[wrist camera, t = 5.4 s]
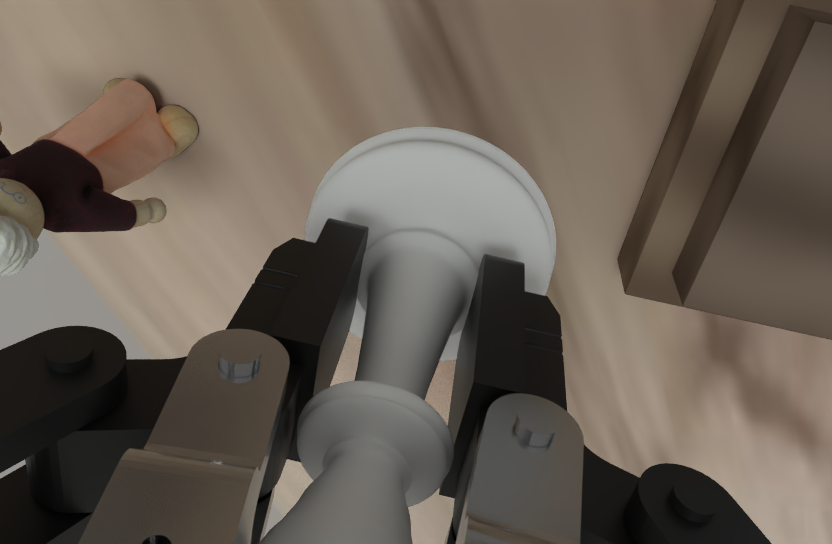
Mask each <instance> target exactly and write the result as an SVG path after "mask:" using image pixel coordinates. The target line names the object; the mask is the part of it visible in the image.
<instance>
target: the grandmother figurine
mask: <svg viewBox="0 0 832 544" xmlns="http://www.w3.org/2000/svg"><path fill="white" fill-rule="evenodd" d="M1 132H2V126H1V123H0V134H1ZM197 135H198V125H197V123H196V121H195V119H194V117H193V116H192V115H191V114H189V113H188V112H187V111H186V110H184V109H183V108H181V107H179V106H176V105H167V106H164V107H163V108H161V109H160V110H159V112H158V113H156V106H155V102H154V98H153V97H152V95H151V93H150V92H149V91H148V90H147V89H146V88H145V87H144V86H143V85H141V84H140V83H138V82H136V81H133V80H129V79H125V80H124V79H113V80H111V81H109V82H108V83H107V84H106V86H105V88H104V90H103V96H101V97H100V98H99V99H98V100H97V101H95V102H94V103H93V104H92V105H90V106H89V107H88V108H87V109H86V110H84V111H83V112H82V113H80V114H79V115H77V116H76V117H75V118H73V119H72V120H70V121H68V122H67V123H65V124H64V125H62V126H61V127H59V128H58V129H56V130H54V131H53V132H51V133H48V134H46V135H44V136H42V137H40V138H39V139H37V140H36V141H35V142H34V143H33V144H32V145H31V146H29V147H26V148H25V149H22V150H21V151H19V152H17V153H15V154H12V155H11V153H10V152H9V150H8V149H7V148H6V147H5V145H4V144H3V143H2V142H1V141H0V276H2V275H12V274H16V273H17V272H19V271H20V270H21V269H22V268H24V266H25V265H26V264H27V262H28V261H29V259H31V258H32V257H33V256H34V255H35V253H36V252H37V250H38V246H39V244H38V241H37V238H38V237H39V235H40V233H41V231H42V229H43V228H44V229H47V230H50V231H52V232H104V231H126V230H130V229H131V228H133V227H138V226H142V225H145V224H147V223H148V222H149V223H157V222H160V221H161V220H163V219H164V217H165V216H166V212H167V211H166V206H165V204H164V203H163V201H161V200H160V199H158V198H148V199H145V200H144V201H142V200H132V201H127V200H123V199H120V198H118V197H116V196H114V195H112V194H111V193H112V192H114V191H115V190H117V189H119V188H121V187H124V186H126V185H128V184H130V183H132V182H133V181H135V180H137V179H140V178H142V177H143V176H145V175H147V174H148V173H150V172H151V171H152V170H154V169H155V168H156V167H157V166H158V165H160V164H161V163H162V162H163V161H165V160H166V159H168V158H173V157H176V156H177V155H179V154H180V153H181V152H182V151H183V150H185V149H186V148H187V147H188V146H189V145H190V144H192V143H193V142H194V140H195V139H196V138H197Z"/></svg>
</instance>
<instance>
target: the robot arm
mask: <svg viewBox="0 0 832 544" xmlns="http://www.w3.org/2000/svg"><path fill="white" fill-rule="evenodd" d="M368 230H369V228H368V227H366V226H362V225H358V224H353V223H349V222H345V221H340V220H336V219H332V218H328V219H327V221H326V223H325V225H324V227H323V229H322V231H321V233H320V235H319V237H318V239H317V241H316V243H314V242H309V241H305V240H300V239H296V238H292V239H291V240H289V241H287V242H286V243H284V244H282V245H280V246H279V247H277V248H275V249H274V250H273V251H272V253H271V254H270V256H269V258H268V259H267V261H266V263H265V264H264V266H263V270H261V271H260V273H259V274H258V276H257V278H256V279H255V283H254V284H252V286H251V288H250V289H249V291H248V293H247V294H246V296H245V298H244V300H243V301H242V303H241V305H240V306H239V308H238V310H237V311H236V313H235V315H234V316H233V318H232V320H231V321H230V323H229V325H228V326H227V328H226V330H222V331H217V332H214V333H211V334H209V335H207V336H205V337H203V338H202V339H200V340H199V341H198V342H197V343H196V344H195V345H194V346H193V347H192V349H191V350H190V352H189V354H188V356H186V357H182V358H175V359H147V360H146V359H144V360H142V359H140V360H139V359H135V360H126V350H125V347H124V345H123V344H122V342H121V341H120V340H119V339H118V338H117V337H116V336H114V335H113V334H111V333H109V332H107V331H104V330H101V329H98V328H94V327H87V326H66V327H60V328H54V329H51V330H47V331H44V332H42V333H39V334H36V335H34V336H32V337H30V338H27V339H25V340H23V341H20V342H18V343H16V344H13V345H11V346H9V347H7V348H4V349H2V350H0V473H1V472H3V471H5V470H6V469H8V468H10V467H12V466H13V465H15V464H17V463H19V462H21V461H23V460H24V459H25V461H26V465H24V466H22V467H20V468H19V469H17V470H15V471H13V472H12V473H10V474H8V475H6V476H5V477H3V478H1V479H0V544H259V542H260V541H261V540H262V539H263V538H264V534H265V530H266V526H267V522H268V518H269V513H270V509H271V506H272V502H273V497H274V489H275V485H276V484H277V482H278V480H279V478H280V476H281V473H282V470H283V468H284V465H285V462H286V460H287V459H290V460H294V461H298V462H301V461H300V458H299V455H298V450H297V424H298V419H299V416H300V414H301V412H302V410H303V408H304V407H305V405H306V404H307V403H308V402H309V400H310V399H311V398H313V397H314V396H315V395H316V394H318V393H319V392H321V391H322V390H324V389H326V388H328V387H330V384H331V381H332V378H333V375H334V373H335V370H336V367H337V364H338V361H339V358H340V355H341V352H342V350H343V347H344V344H345V341H346V338H347V335H348V332H349V329H350V326H351V322H352V319H353V315H354V310H355V306H356V301H357V291H358V285H359V279H360V273H361V268H362V262H363V257H364V252H365V250H366V244H367V238H368ZM478 272H479V274H478V278H477V282H476V286H475V289H474V293H473V297H472V300H471V304H470V308H469V311H468V315H467V318H466V321H465V325H464V328H463V329H462V333H461V337H460V342H459V347H458V352H457V359H456V366H455V374H454V382H453V390H452V397H451V405H450V413H449V421H448V428H449V430H450V433H451V435H452V439H453V443H454V458H453V463H452V466H451V468H450V471H449V472H448V474H447V476H446V477H445V478H444V481H443V482H442V484H441V486H440V490H439V495H443V496H447V497H452V498H455V502H454V511H453V518H452V521H451V524H450V527H449V530H448V533H447V536H446V539H445V543H444V544H771V542H770V541H769V540H768V539H767V538H766V537H765V535H764V534H763V533H762V532H761V531H760V529H759V528H758V527H757V526H756V525H755V524H754V522H753V521H752V520H751V519H750V518H749V517H748V515H747V514H746V513H745V512H744V511H743V509H742V508H741V507H740V506H739V505H738V504H737V502H736V501H735V500H734V499H733V498H732V497H731V495H730V494H729V493H728V492H727V491H726V490H725V489H724V488H723V487H722V486H720V485H719V484H718V483H717V482H715V481H714V480H713V479H711V478H710V477H708V476H706V475H705V474H703V473H701V472H699V471H697V470H694V469H692V468H689V467H686V466H683V465H678V464H668V463H665V464H658V465H654V466H652V467H650V468H648V469H647V470H646V471H645V472H644V473H643V474H642V475H641V477H640V478H639V477H637V476H635V475H633V474H631V473H629V472H627V471H625V470H622V469H620V468H618V467H616V466H614V465H612V464H610V463H609V462H607V461H605V460H603V459H601V458H600V457H598V456H597V455H596V454H594V453H593V452H592V451H590V450H589V449H588V448H587V447H586V446H585V445H584V439H583V434H582V431H581V429H580V427H579V425H578V423H577V422H576V421H575V419H574V418H573V417H572V416H571V415H570V414H569V413H568V412H567V403H566V389H565V375H564V362H563V355H562V352H563V348H562V339H561V336H562V334H561V320H560V315H559V313H558V312H557V310H556V309H555V307H554V306H553V304H552V303H551V301H550V300H549V298H548V297H547V296H543V295H539V294H535V293H530V292H526V291H525V264H524V263H523V262H518V261H514V260H510V259H505V258H501V257H496V256H492V255H488V254H484V255H483V258H482V261H481V264H480V267H479V271H478Z"/></svg>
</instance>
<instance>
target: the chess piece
mask: <svg viewBox="0 0 832 544" xmlns="http://www.w3.org/2000/svg"><path fill="white" fill-rule="evenodd" d="M328 218H332V219H336V220H340V221H345V222H349V223H353V224H358V225H362V226H366V227H368V228H369V230H368V238H367V244H366V250H365V252H364V257H363V262H362V268H361V273H360V279H359V285H358V291H357V301H356V306H355V310H354V315H353V319H352V322H351V326H350V329H349V330H350V331H351V332H352V333H353V334H355V335H356V336H358V337H359V338H361V339H362V343H361V349H360V355H359V362H358V368H357V372H356V377H355V381H350V382H344V383H340V384H336V385H333V386H331V387H328V388H326V389H324V390H322V391H321V392H319V393H318V394H316V395H315V396H314V397H313V398H311V399H310V400H309V402H308V403H307V404H306V405H305V407H304V408H303V410H302V412H301V414H300V416H299V419H298V424H297V450H298V455H299V458H300V461H301V463H302V465H303V467H304V468H305V470H306V472H307V473H308V474H309V476H310V477H311V478H312V479H313V480H314V481H313V482H312V483H311V484H310V485H309V486H308V488H307V489H306V490H305V491H304V493H303V494H302V496H301V497H300V499H299V500H298V502H297V503H296V504H295V506H294V507H293V508H292V509H291V510H290V511H289V512H288V513H287V515H286V516H285V517H284V518H283V519H282V520H281V521H280V522H278V523H277V524H276V525H275V526H274V527H273V528H272V529H271V530H270V531H269V532H268V533H267V534H266V536H265V537H264V538H263V539H262V540H261V541H260V542H259V544H412V538H411V523H410V515H409V510H408V507H410V506H413V505H415V504H418V503H420V502H422V501H424V500H426V499H427V498H429V497H430V496H431V495H432V494H434V493H435V492H436V491H437V489H438V488H439V487H440V486H441V484H442V482H443V481H444V478H445V477H446V476H447V474H448V472H449V471H450V468H451V466H452V463H453V458H454V443H453V439H452V435H451V433H450V430H449V428H448V426H447V424H446V423H445V421H444V420H443V418H442V417H441V416H440V414H439V413H438V412H437V411H436V410H435V409H434V408H433V407H432V406H431V405H429V404H428V403H427V402H426V401H424V400H425V397H426V394H427V391H428V388H429V385H430V383H431V380H432V378H433V375H434V373H435V370H436V368H437V365H438V363H439V361H447V360H456V359H457V352H458V347H459V342H460V337H461V333H462V329H463V328H464V325H465V321H466V318H467V315H468V311H469V308H470V304H471V300H472V297H473V293H474V289H475V286H476V282H477V278H478V274H479V272H478V271H479V267H480V264H481V261H482V258H483V255H484V254H488V255H492V256H496V257H501V258H505V259H510V260H514V261H518V262H523V263H524V264H525V291H526V292H530V293H535V294H539V295H543V296H545V294H546V292H547V289H548V286H549V282H550V278H551V275H552V271H553V268H554V263H555V257H556V233H555V226H554V222H553V218H552V214H551V211H550V208H549V206H548V204H547V201H546V199H545V197H544V195H543V193H542V192H541V190H540V188H539V187H538V185H537V184H536V182H535V181H534V180H533V178H532V177H531V176H530V175H529V174H528V172H527V171H526V170H525V169H524V168H523V167H522V166H521V165H520V164H519V163H518V162H517V161H515V160H514V159H513V158H512V157H511V156H509V155H508V154H507V153H505V152H504V151H502V150H501V149H499V148H498V147H496V146H494V145H492V144H491V143H489V142H487V141H485V140H483V139H480V138H478V137H475V136H473V135H470V134H467V133H464V132H460V131H456V130H452V129H446V128H439V127H408V128H401V129H396V130H392V131H388V132H384V133H381V134H378V135H376V136H373V137H371V138H369V139H367V140H365V141H363V142H361V143H359V144H358V145H356V146H354V147H353V148H351V149H350V150H349V151H347V152H346V153H345V154H344V155H343V156H341V157H340V158H339V159H338V160H337V161H336V162H335V163H334V164H333V165H332V167H331V168H330V169H329V170H328V172H327V173H326V174H325V176H324V177H323V179H322V181H321V182H320V184H319V186H318V188H317V190H316V193H315V195H314V198H313V201H312V205H311V209H310V212H309V215H308V219H307V223H306V229H305V239H304V240H305V241H309V242H314V243H316V241H317V239H318V237H319V235H320V233H321V231H322V229H323V227H324V225H325V223H326V221H327V219H328Z"/></svg>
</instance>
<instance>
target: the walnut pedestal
mask: <svg viewBox="0 0 832 544" xmlns="http://www.w3.org/2000/svg"><path fill="white" fill-rule="evenodd" d="M618 264H619V269H620V273H621V278H622V283H623V287H624V292H625V294H627V295H631V296H636V297H640V298H645V299H649V300H654V301H658V302H663V303H667V304H672V305H676V306H681V307H686V308H690V309H695V310H699V311H704V312H708V313H713V314H717V315H722V316H726V317H731V318H735V319H740V320H744V321H749V322H753V323H758V324H762V325H767V326H771V327H776V328H781V329H785V330H790V331H794V332H799V333H803V334H808V335H812V336H817V337H821V338H826V339H830V340H832V0H718V1H717V4H716V6H715V9H714V11H713V14H712V17H711V19H710V22H709V24H708V27H707V29H706V32H705V35H704V37H703V40H702V42H701V45H700V47H699V50H698V53H697V55H696V58H695V60H694V63H693V66H692V68H691V71H690V73H689V76H688V78H687V81H686V84H685V86H684V89H683V91H682V94H681V96H680V99H679V102H678V104H677V107H676V109H675V112H674V115H673V117H672V120H671V122H670V125H669V127H668V130H667V133H666V135H665V138H664V140H663V143H662V145H661V148H660V151H659V153H658V156H657V158H656V161H655V163H654V166H653V169H652V171H651V174H650V176H649V179H648V182H647V184H646V187H645V189H644V192H643V194H642V197H641V200H640V202H639V205H638V207H637V210H636V212H635V215H634V218H633V220H632V223H631V225H630V228H629V231H628V233H627V236H626V238H625V241H624V243H623V246H622V249H621V251H620V254H619V256H618Z"/></svg>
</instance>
